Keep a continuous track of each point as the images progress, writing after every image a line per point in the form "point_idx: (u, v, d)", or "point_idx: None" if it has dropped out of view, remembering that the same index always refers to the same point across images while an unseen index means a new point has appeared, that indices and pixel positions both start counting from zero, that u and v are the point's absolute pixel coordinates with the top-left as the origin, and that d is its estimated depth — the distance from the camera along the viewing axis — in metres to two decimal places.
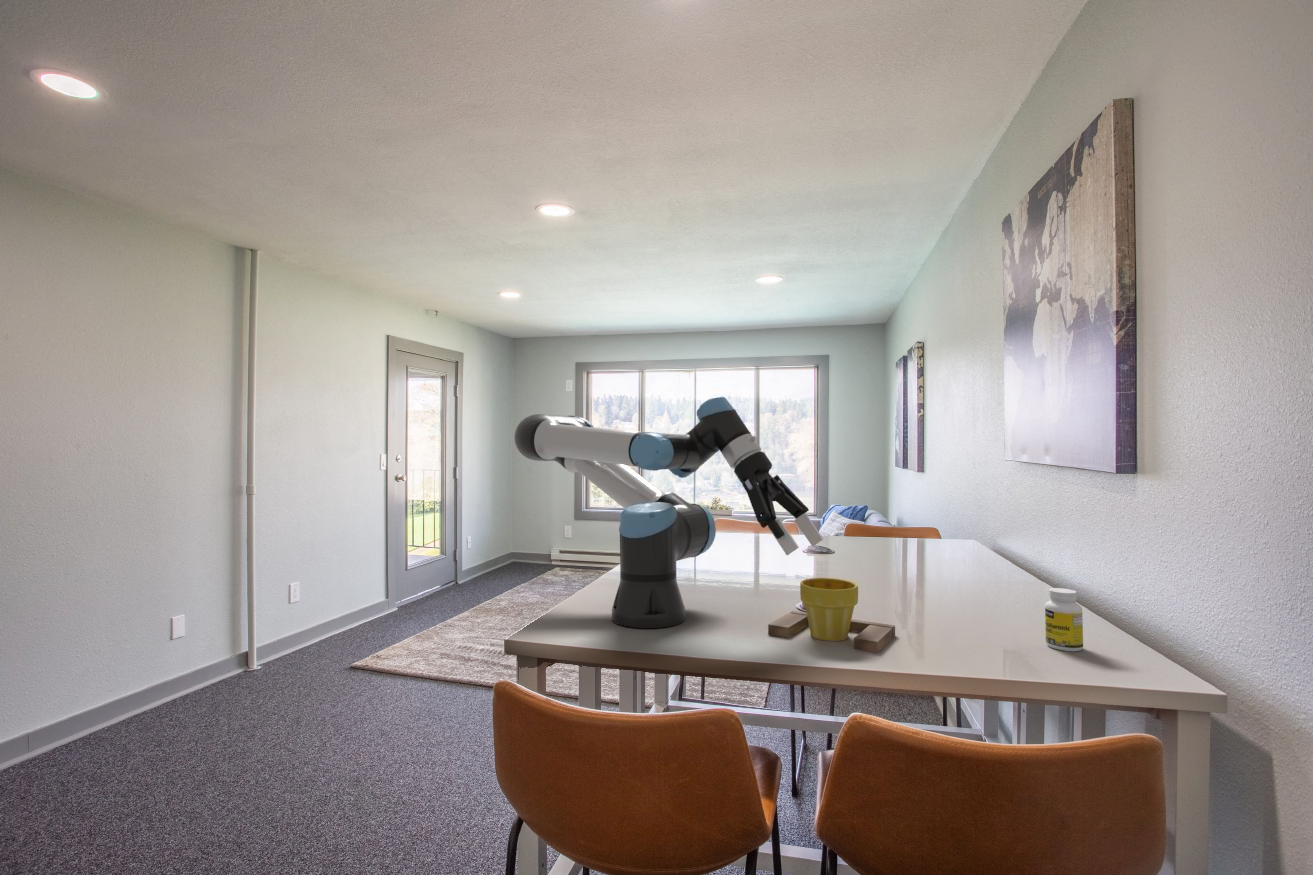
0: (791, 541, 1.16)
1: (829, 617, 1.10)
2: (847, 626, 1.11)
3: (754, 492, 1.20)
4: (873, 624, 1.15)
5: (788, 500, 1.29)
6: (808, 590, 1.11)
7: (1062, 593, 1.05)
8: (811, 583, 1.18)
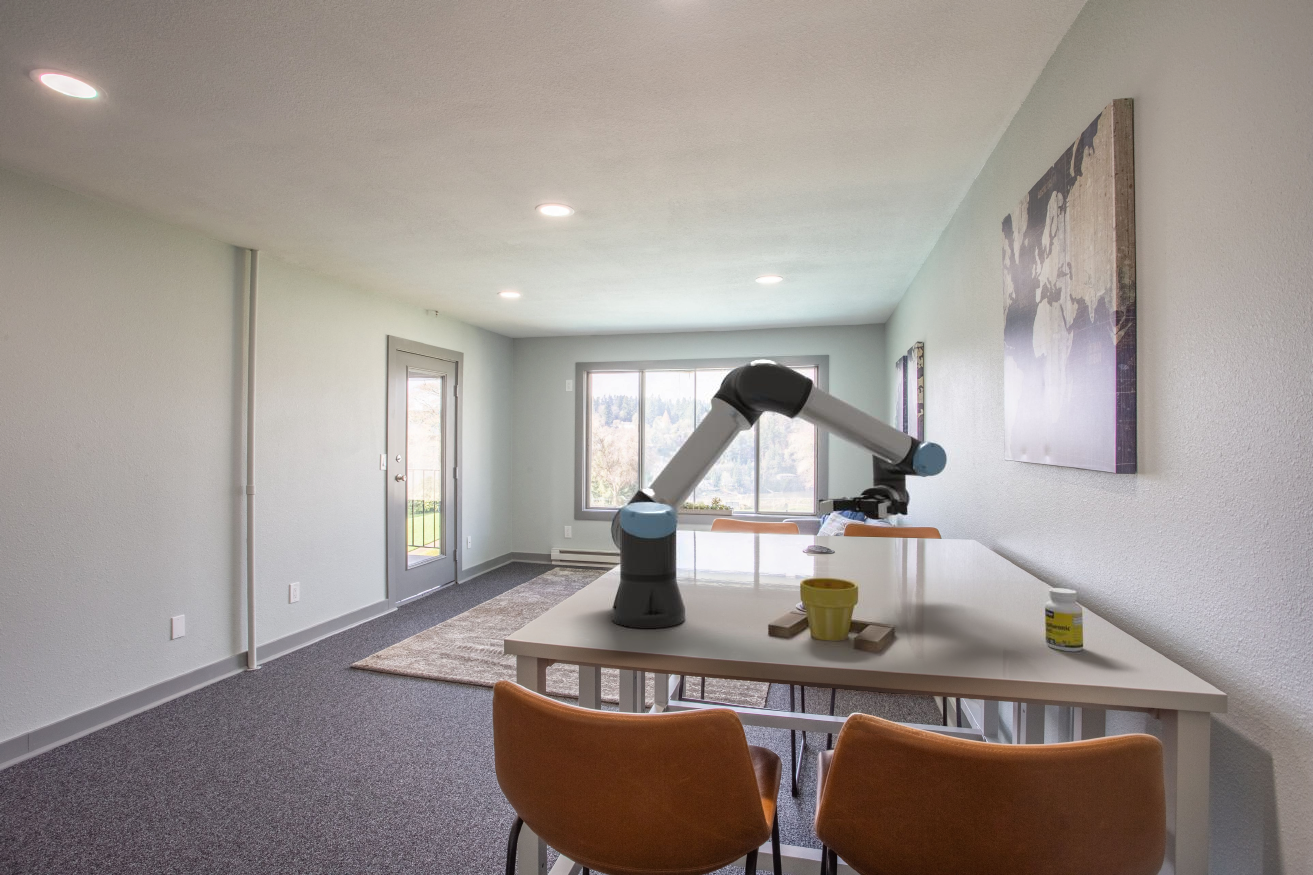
0: (884, 515, 1.23)
1: (829, 617, 1.10)
2: (847, 626, 1.11)
3: None
4: (873, 624, 1.15)
5: (847, 508, 1.36)
6: (808, 590, 1.11)
7: (1062, 593, 1.05)
8: (811, 583, 1.18)
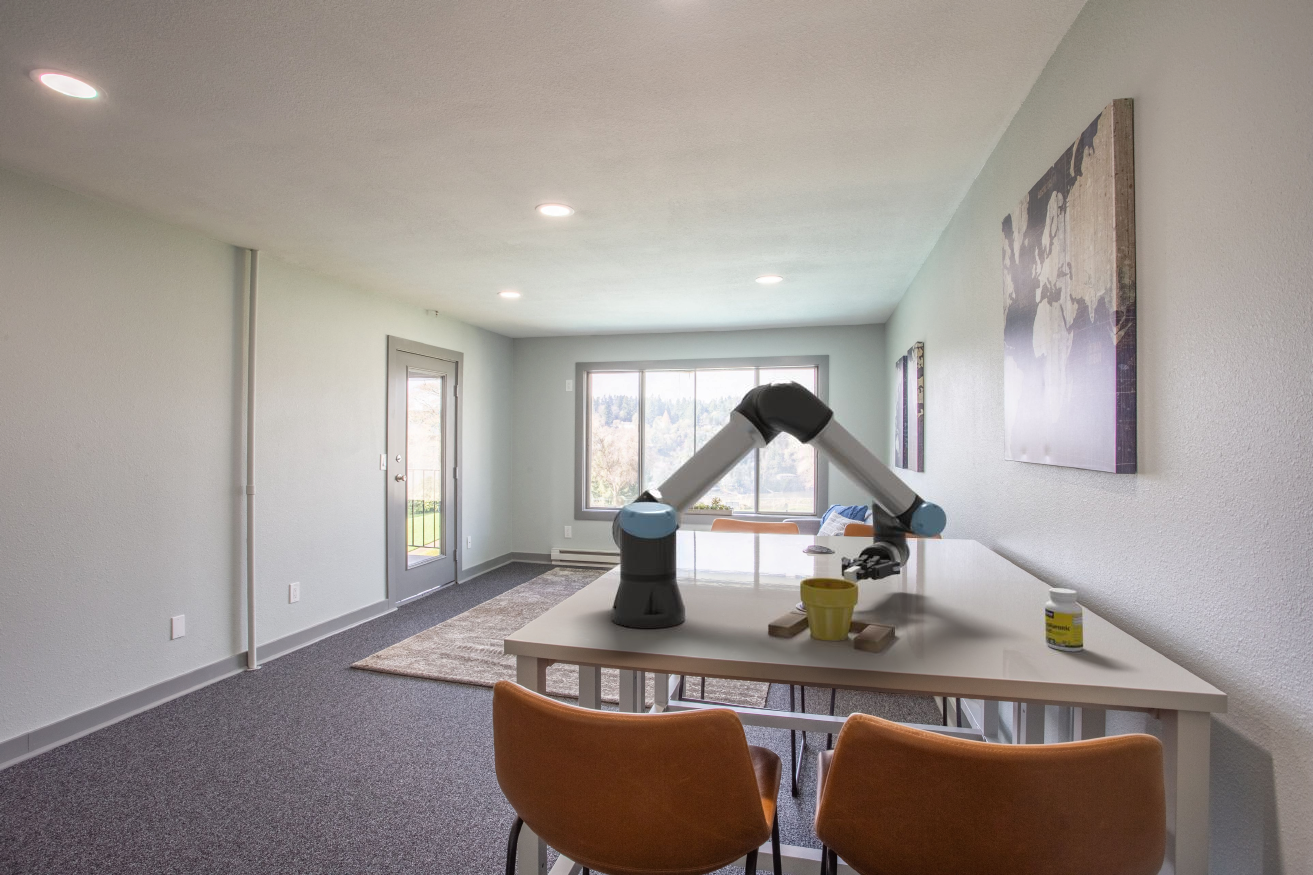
0: (854, 582, 1.23)
1: (829, 617, 1.10)
2: (847, 626, 1.11)
3: (890, 571, 1.31)
4: (873, 624, 1.15)
5: None
6: (808, 590, 1.11)
7: (1062, 593, 1.05)
8: (811, 583, 1.18)
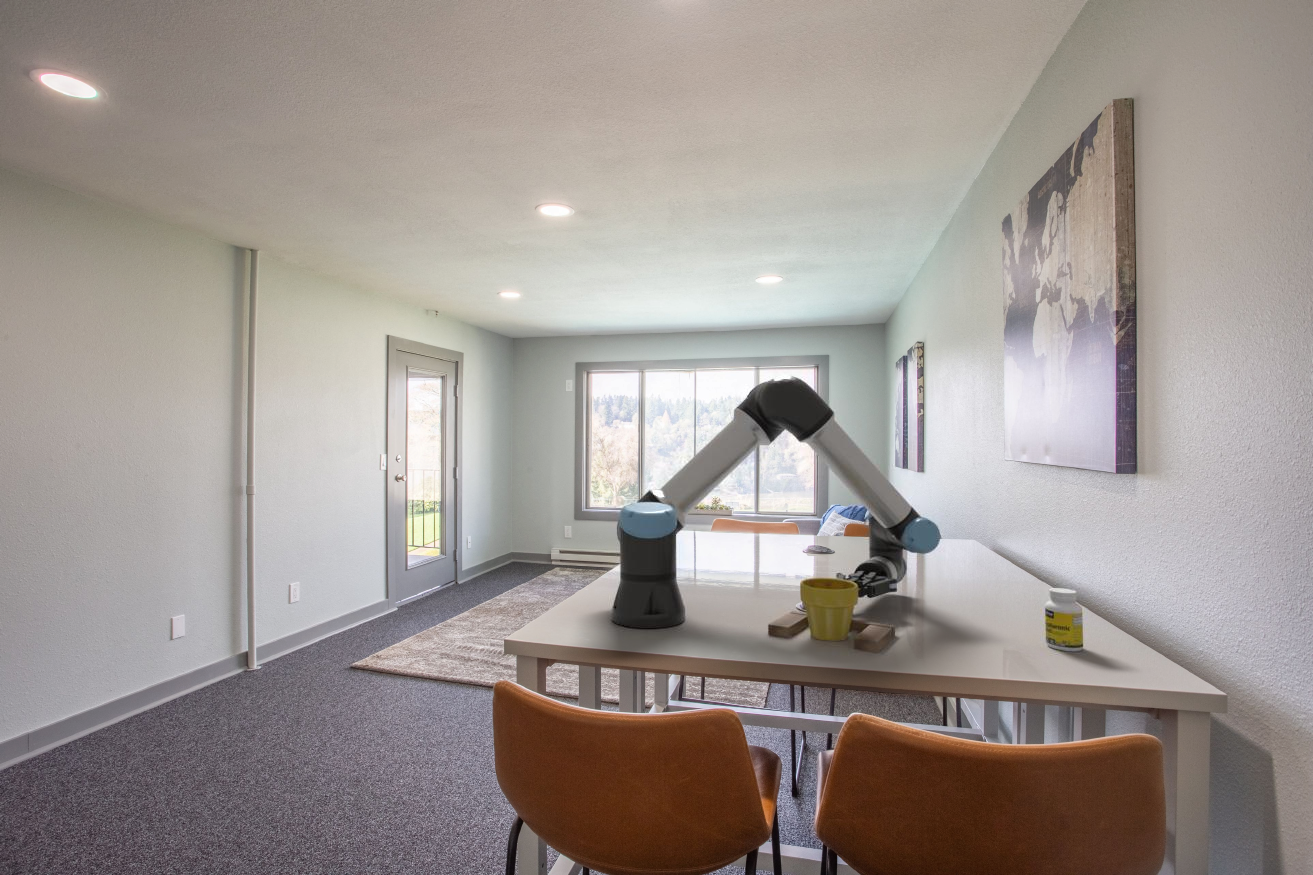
0: None
1: (829, 617, 1.10)
2: (847, 626, 1.11)
3: (887, 589, 1.26)
4: (873, 624, 1.15)
5: None
6: (808, 590, 1.11)
7: (1062, 593, 1.05)
8: (811, 583, 1.18)
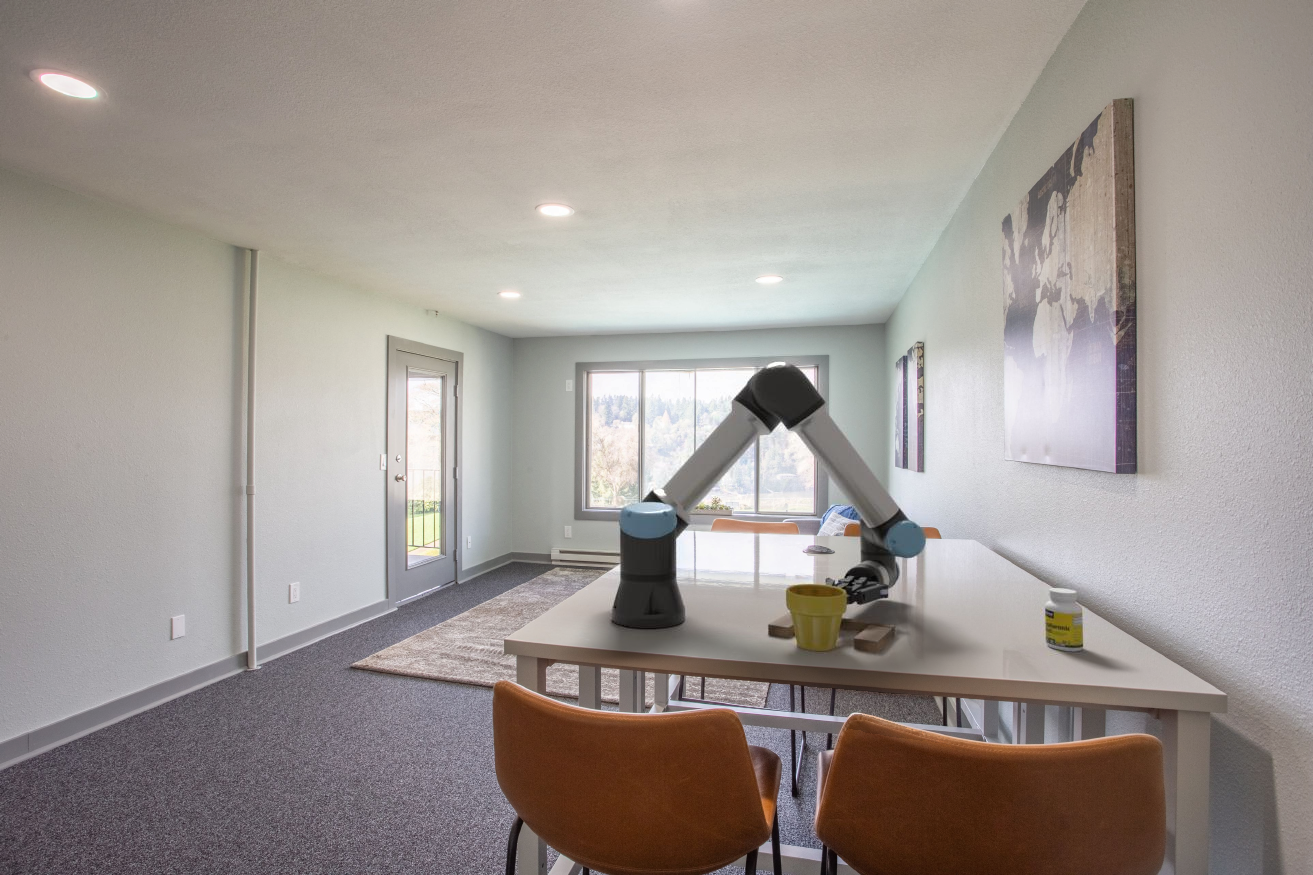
0: None
1: (816, 626, 1.04)
2: (835, 635, 1.05)
3: (877, 595, 1.20)
4: (873, 624, 1.15)
5: None
6: (794, 598, 1.06)
7: (1062, 593, 1.05)
8: (798, 590, 1.12)
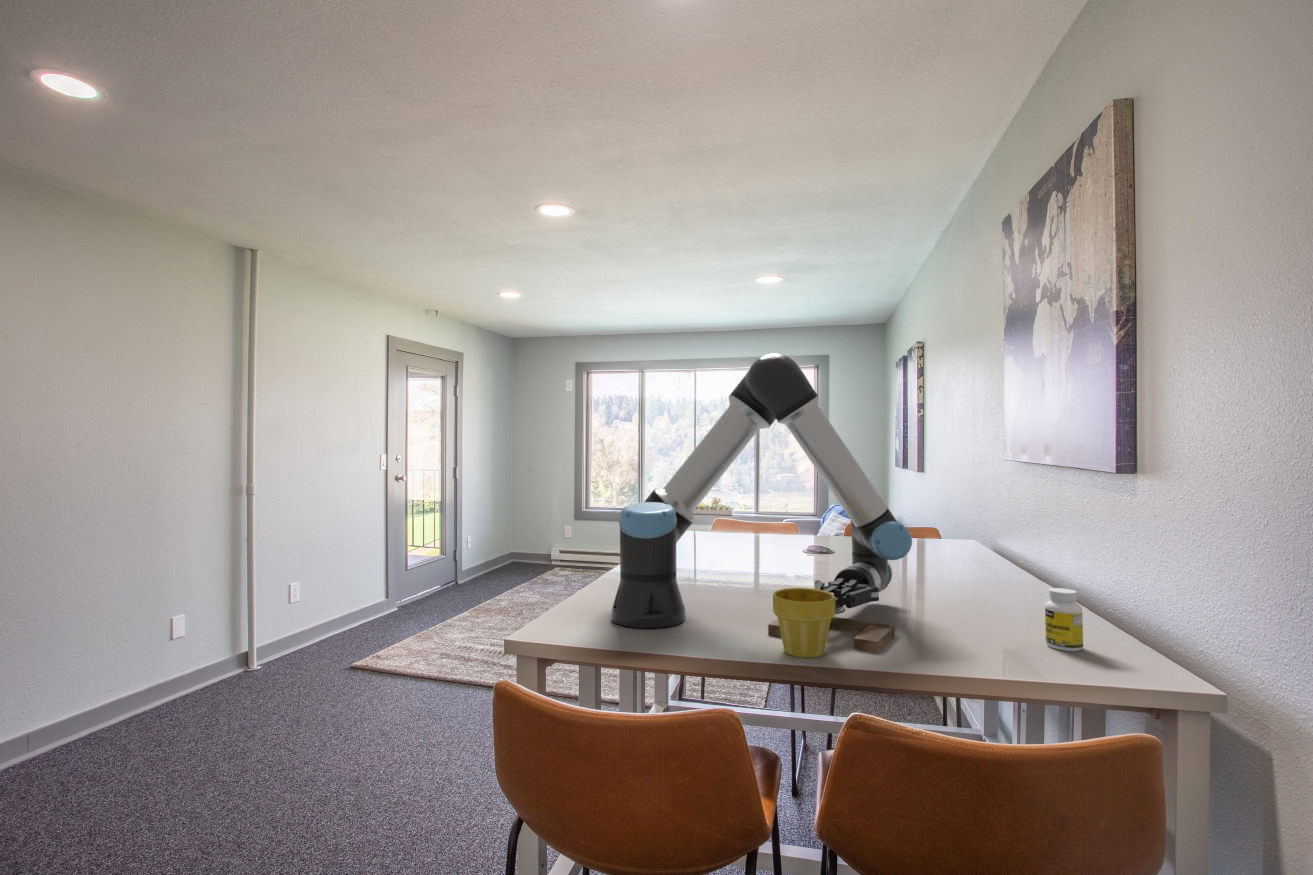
0: None
1: (804, 632, 1.01)
2: (823, 641, 1.02)
3: (867, 598, 1.17)
4: (873, 624, 1.15)
5: None
6: (781, 603, 1.02)
7: (1062, 593, 1.05)
8: (785, 594, 1.09)
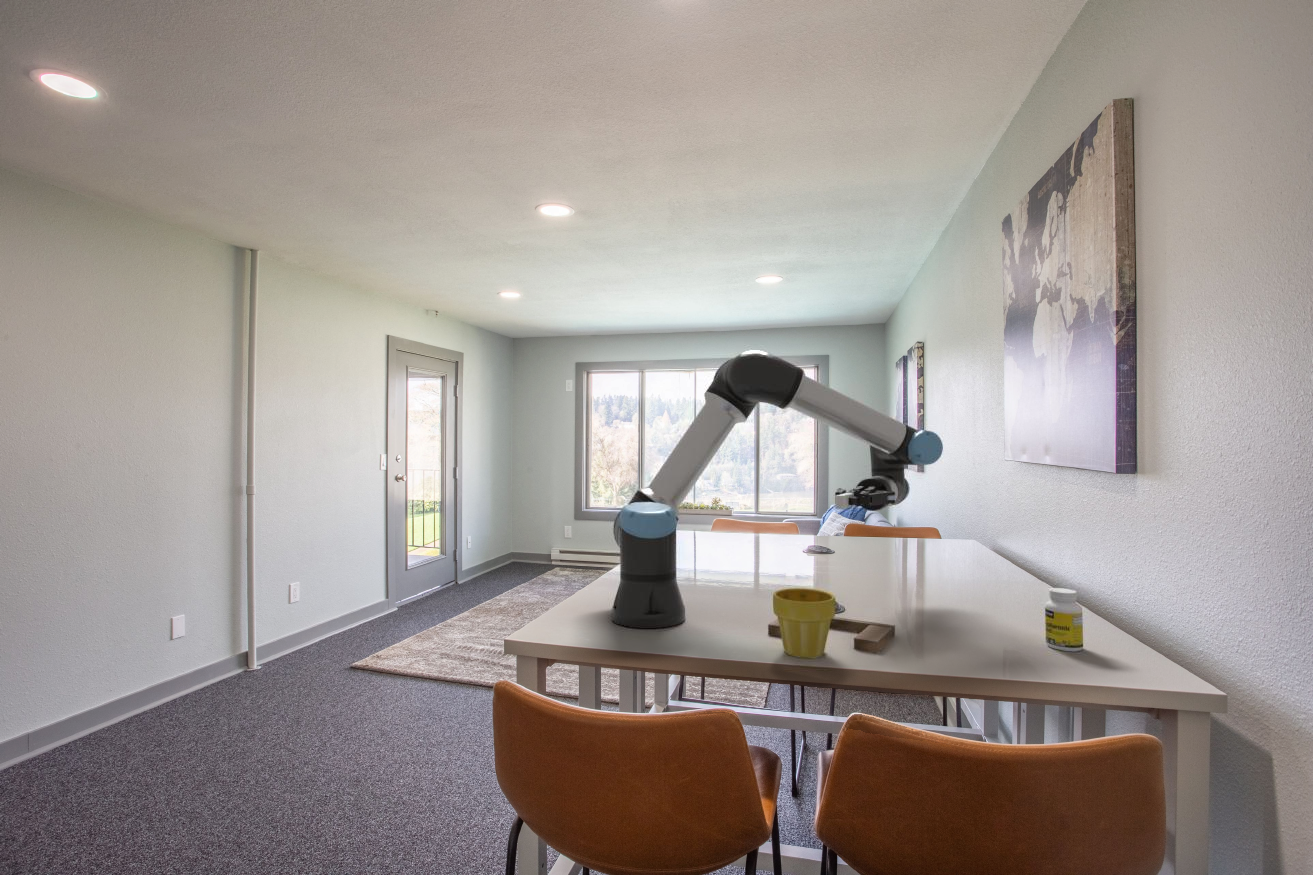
0: (845, 507, 1.23)
1: (804, 632, 1.01)
2: (823, 641, 1.02)
3: (884, 500, 1.30)
4: (873, 624, 1.15)
5: None
6: (781, 603, 1.02)
7: (1062, 593, 1.05)
8: (785, 594, 1.09)
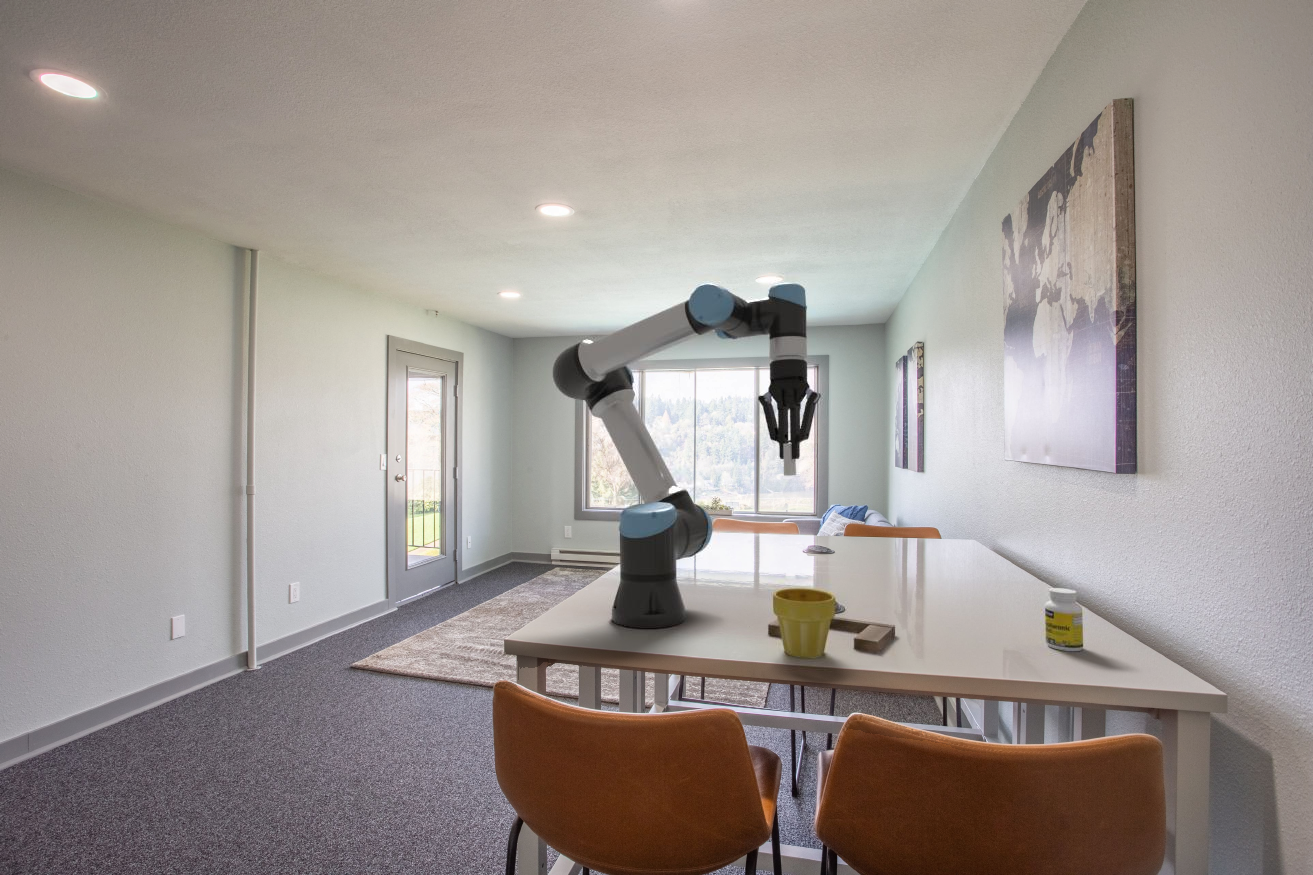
0: (795, 467, 1.26)
1: (804, 632, 1.01)
2: (823, 641, 1.02)
3: (813, 409, 1.24)
4: (873, 624, 1.15)
5: (787, 418, 1.27)
6: (781, 603, 1.02)
7: (1062, 593, 1.05)
8: (785, 594, 1.09)
